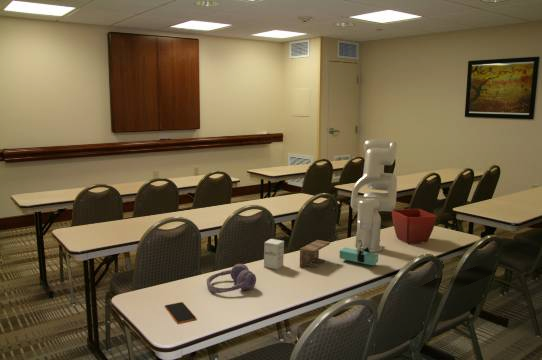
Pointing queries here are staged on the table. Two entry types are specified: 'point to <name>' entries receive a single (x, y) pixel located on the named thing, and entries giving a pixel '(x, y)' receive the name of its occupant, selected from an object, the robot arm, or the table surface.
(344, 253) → the teal flat plank
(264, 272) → the table surface
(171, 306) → the smartphone
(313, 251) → the overhang shelf
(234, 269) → the headphones
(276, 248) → the supplement box
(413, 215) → the plant pot
